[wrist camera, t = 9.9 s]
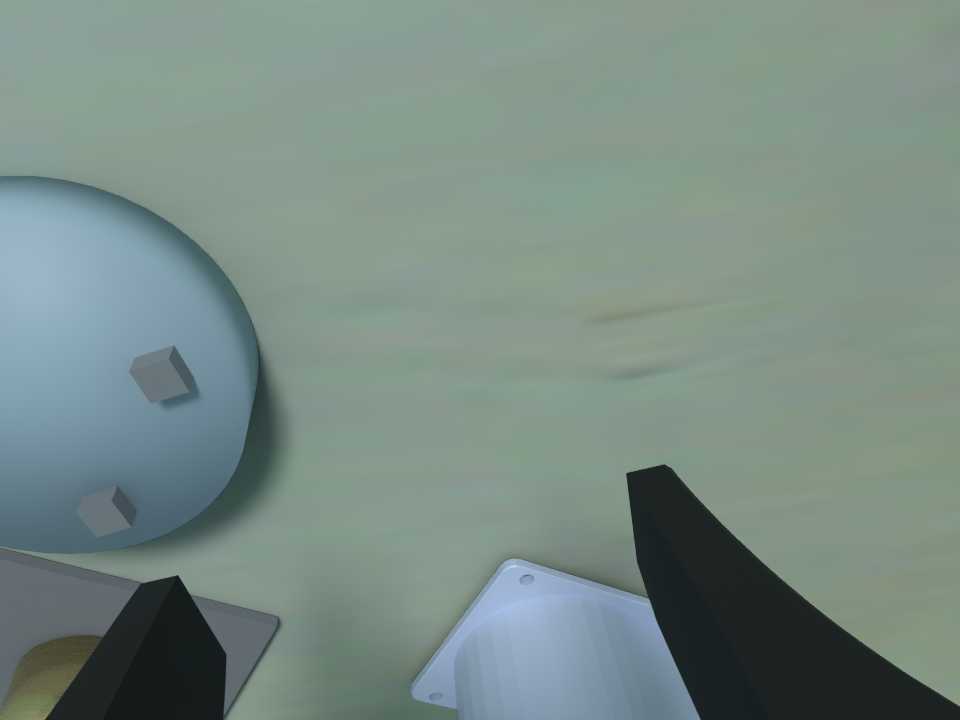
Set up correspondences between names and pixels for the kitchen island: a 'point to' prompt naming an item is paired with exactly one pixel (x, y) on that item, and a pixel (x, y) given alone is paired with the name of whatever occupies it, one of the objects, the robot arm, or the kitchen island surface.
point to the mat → (103, 615)
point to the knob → (45, 676)
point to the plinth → (112, 371)
